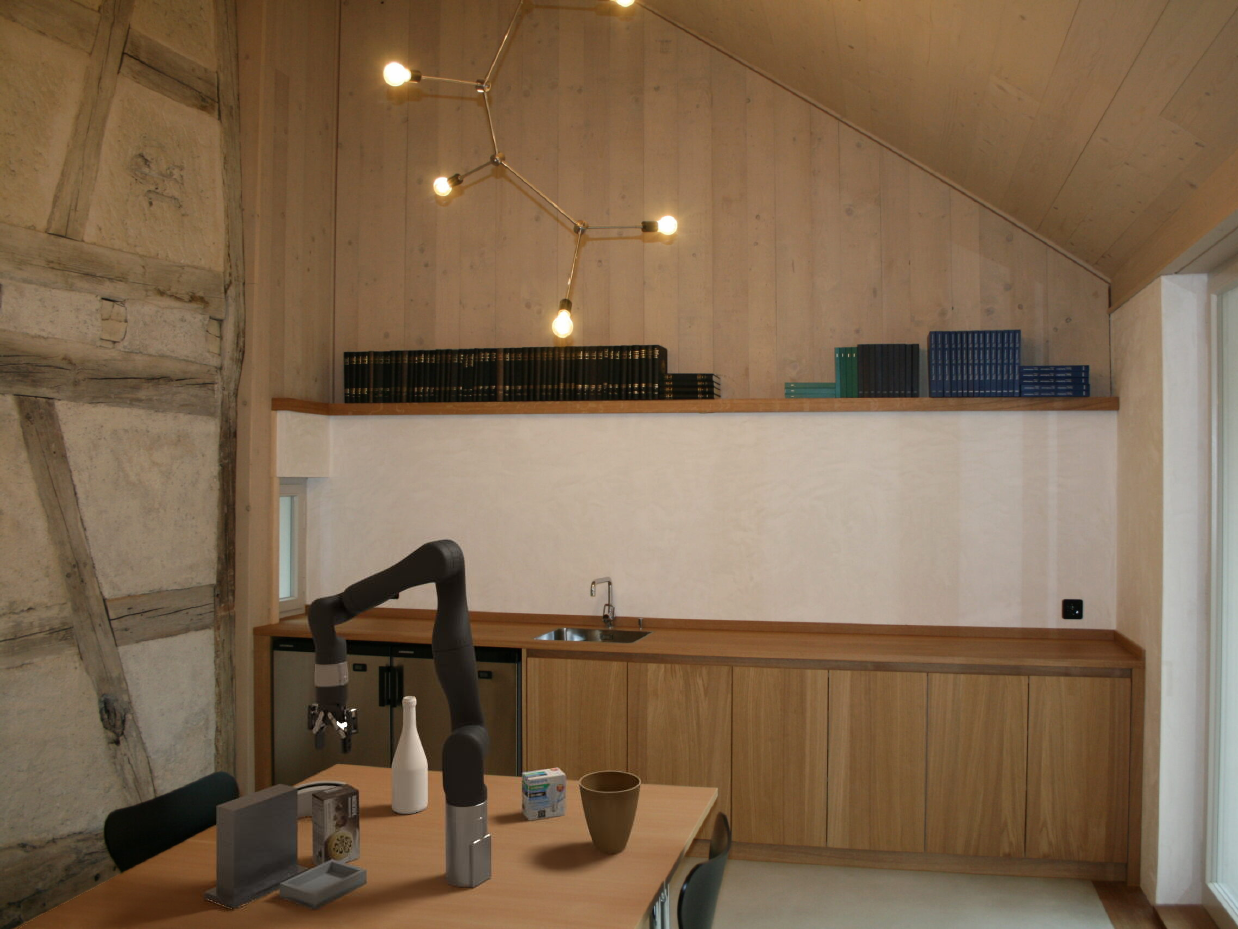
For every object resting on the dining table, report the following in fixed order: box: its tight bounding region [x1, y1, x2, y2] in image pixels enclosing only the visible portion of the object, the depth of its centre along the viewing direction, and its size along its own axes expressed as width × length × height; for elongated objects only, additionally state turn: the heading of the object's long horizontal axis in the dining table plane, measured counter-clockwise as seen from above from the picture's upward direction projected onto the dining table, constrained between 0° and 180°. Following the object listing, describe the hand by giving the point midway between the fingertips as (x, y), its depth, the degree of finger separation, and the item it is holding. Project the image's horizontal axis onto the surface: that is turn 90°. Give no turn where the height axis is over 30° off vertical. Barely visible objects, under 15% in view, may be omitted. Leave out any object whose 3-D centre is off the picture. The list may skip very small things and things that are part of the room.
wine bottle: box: [391, 695, 429, 815], centre depth 238 cm, size 10×10×30 cm
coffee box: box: [311, 783, 361, 866], centre depth 205 cm, size 9×6×16 cm
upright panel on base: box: [203, 783, 310, 910], centre depth 192 cm, size 10×19×20 cm, turn 149°
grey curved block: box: [294, 780, 348, 818], centre depth 235 cm, size 17×5×10 cm, turn 107°
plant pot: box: [578, 770, 642, 854], centre depth 211 cm, size 15×15×16 cm
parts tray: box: [279, 859, 368, 911], centre depth 189 cm, size 11×14×3 cm
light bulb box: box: [521, 767, 567, 821], centre depth 233 cm, size 11×7×11 cm, turn 114°
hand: (333, 751), depth 205 cm, fingers open, 8 cm apart
